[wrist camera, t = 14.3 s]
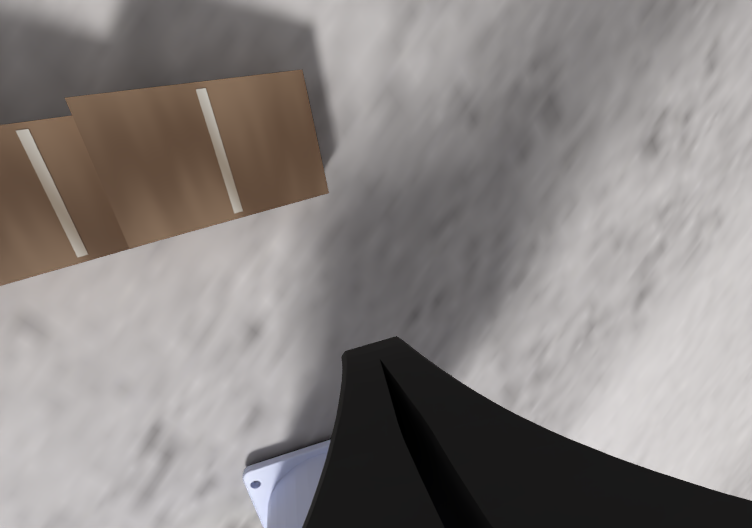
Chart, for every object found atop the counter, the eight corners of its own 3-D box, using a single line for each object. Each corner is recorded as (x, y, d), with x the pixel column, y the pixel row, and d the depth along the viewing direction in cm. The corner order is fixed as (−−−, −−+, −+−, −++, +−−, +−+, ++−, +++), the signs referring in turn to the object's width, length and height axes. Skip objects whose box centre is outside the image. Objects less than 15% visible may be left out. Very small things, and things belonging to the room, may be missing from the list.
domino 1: (194, 230, 15) (-55, 301, 11) (187, 224, 16) (-38, 286, 13) (149, 104, 13) (-158, 146, 10) (146, 109, 14) (-124, 147, 11)
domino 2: (328, 193, 15) (129, 248, 12) (312, 189, 17) (129, 238, 13) (302, 69, 14) (64, 97, 10) (286, 76, 15) (71, 103, 12)
